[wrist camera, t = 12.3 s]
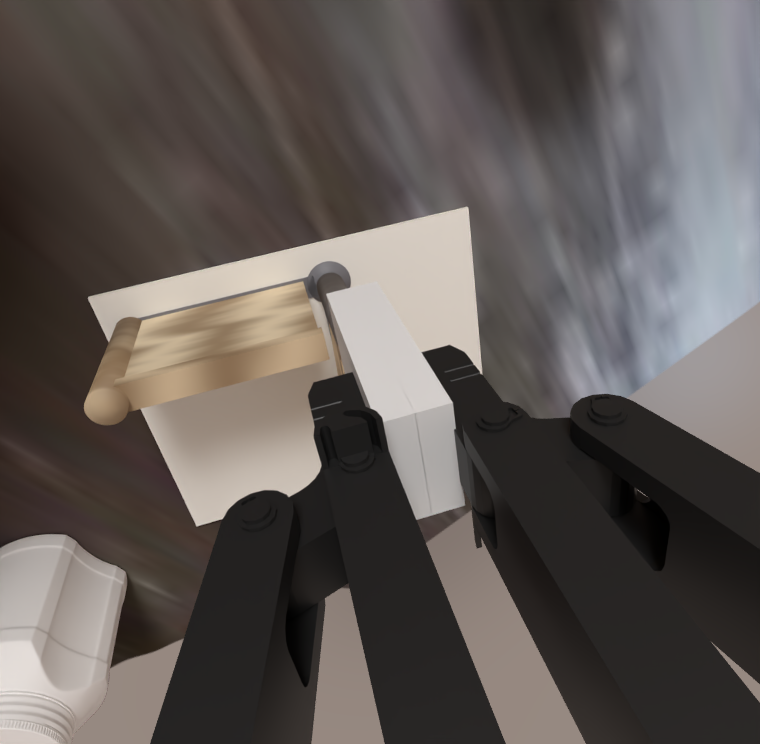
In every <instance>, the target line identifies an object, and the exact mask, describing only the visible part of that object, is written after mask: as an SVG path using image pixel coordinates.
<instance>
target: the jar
mask: <svg viewBox="0 0 760 744" xmlns="http://www.w3.org/2000/svg"><path fill="white" fill-rule="evenodd" d="M126 588H127V575H126V572H125V571H124V570H122V569H121V568H119V567H118V566H116V565H112V564H109V563H106V562H104V561H102V560H100V559H98V558H96V557H94V556H93V555H91V554H90V553H88V552H87V551H86V550H85V549H83V548H82V547H81V546H80V545H79V544H78V543H77V541H76V540H74V539H72V538H71V537H69V536H68V535H63V534H44V535H36V536H30V537H26V538H22V539H19V540H16V541H14V542H11V543H9V544H7V545H5V546H3V547H1V548H0V744H71V743H72V739H73V735H74V734H75V733H76V732H77V730H79V728H81V726H82V725H83V724H84V723H85V722H86V721H87V720H88V719H89V718H90V717H91V716H92V715H93V714H94V713H95V712H96V711H97V710H98V709H99V707H100V706H101V705H102V703H103V701H104V699H105V697H106V693H107V689H108V684H109V676H110V675H109V671H110V666H111V660H112V655H113V650H114V645H115V639H116V634H117V629H118V624H119V618H120V613H121V608H122V604H123V602H124V598H125V593H126Z"/></svg>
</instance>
